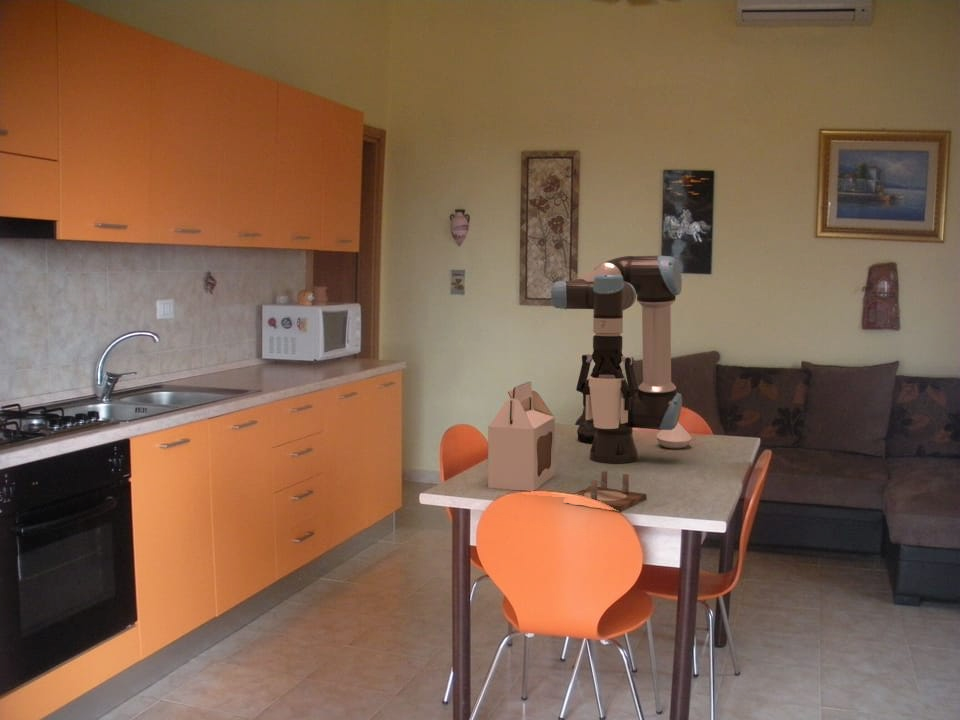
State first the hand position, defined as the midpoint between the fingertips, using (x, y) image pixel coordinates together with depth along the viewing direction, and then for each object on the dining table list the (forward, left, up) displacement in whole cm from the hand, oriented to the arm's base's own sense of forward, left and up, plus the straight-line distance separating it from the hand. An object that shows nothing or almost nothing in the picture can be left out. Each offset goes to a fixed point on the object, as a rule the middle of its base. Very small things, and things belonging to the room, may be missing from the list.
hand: (606, 420), depth 244 cm
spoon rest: (-86, -18, -22) cm, 91 cm away
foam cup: (0, 0, -2) cm, 2 cm away
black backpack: (-78, -40, -22) cm, 90 cm away
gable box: (-7, -30, -22) cm, 38 cm away
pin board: (0, 0, -21) cm, 21 cm away
